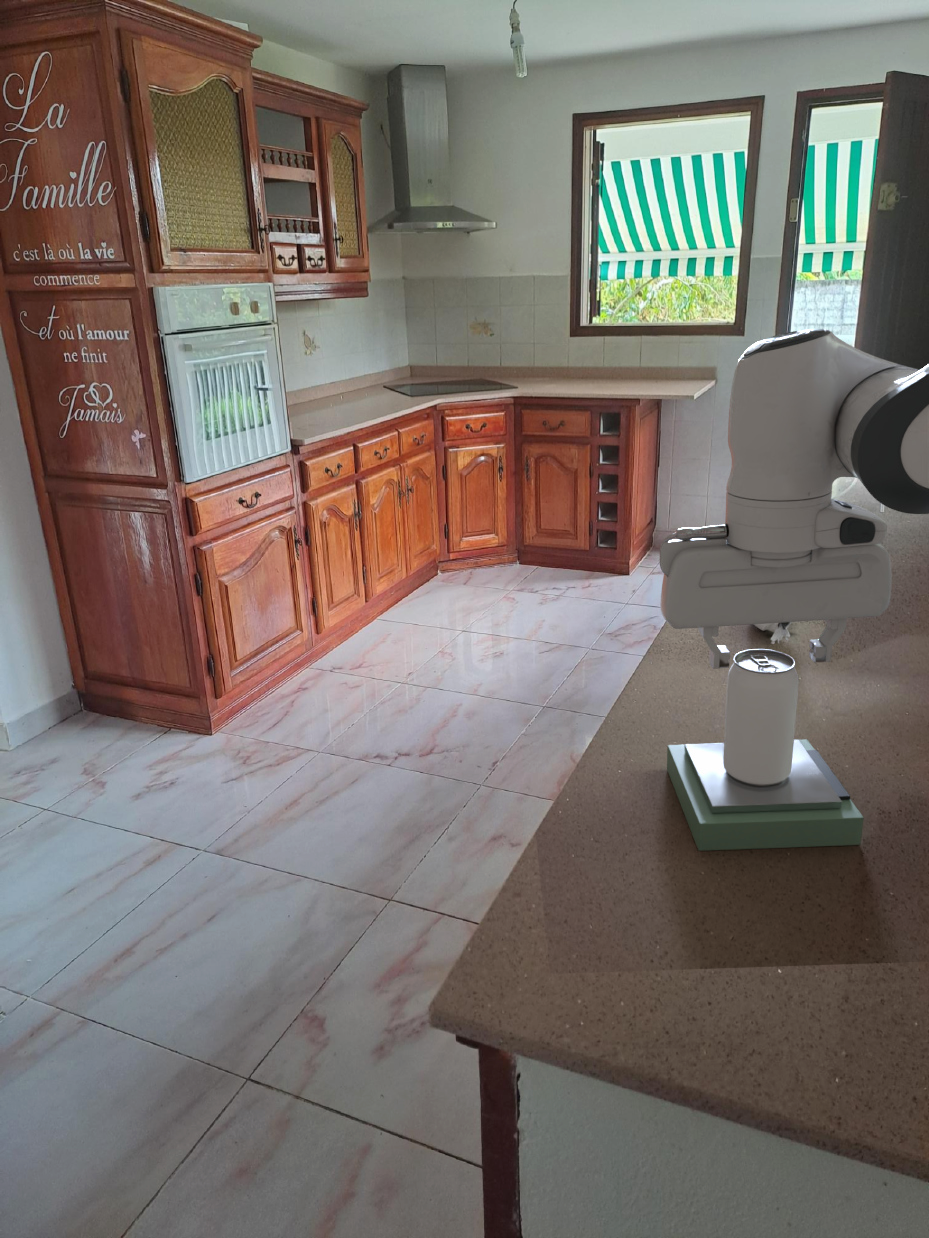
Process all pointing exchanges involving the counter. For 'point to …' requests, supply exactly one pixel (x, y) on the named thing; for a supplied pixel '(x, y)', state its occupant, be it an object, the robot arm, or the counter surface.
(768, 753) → the can
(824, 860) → the counter surface
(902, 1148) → the counter surface
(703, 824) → the scale
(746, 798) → the scale pan
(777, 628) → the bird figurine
